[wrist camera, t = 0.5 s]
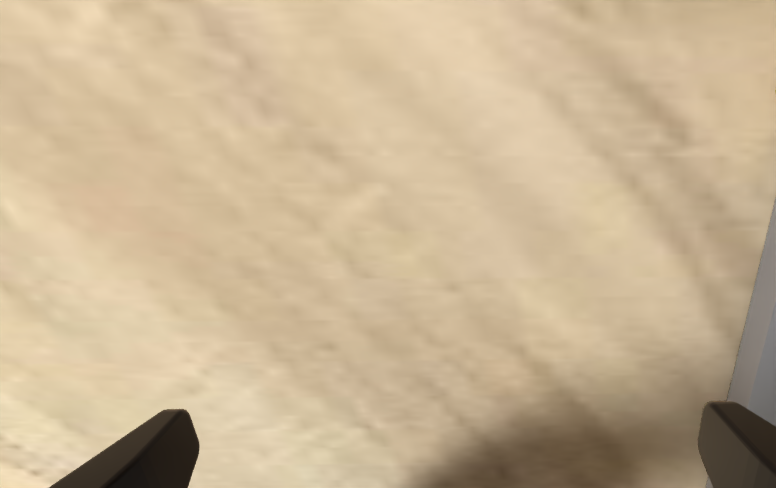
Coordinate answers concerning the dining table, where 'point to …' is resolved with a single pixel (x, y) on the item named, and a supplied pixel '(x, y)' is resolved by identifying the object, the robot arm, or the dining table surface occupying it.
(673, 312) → the dining table surface
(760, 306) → the axle rod stand
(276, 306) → the dining table surface
